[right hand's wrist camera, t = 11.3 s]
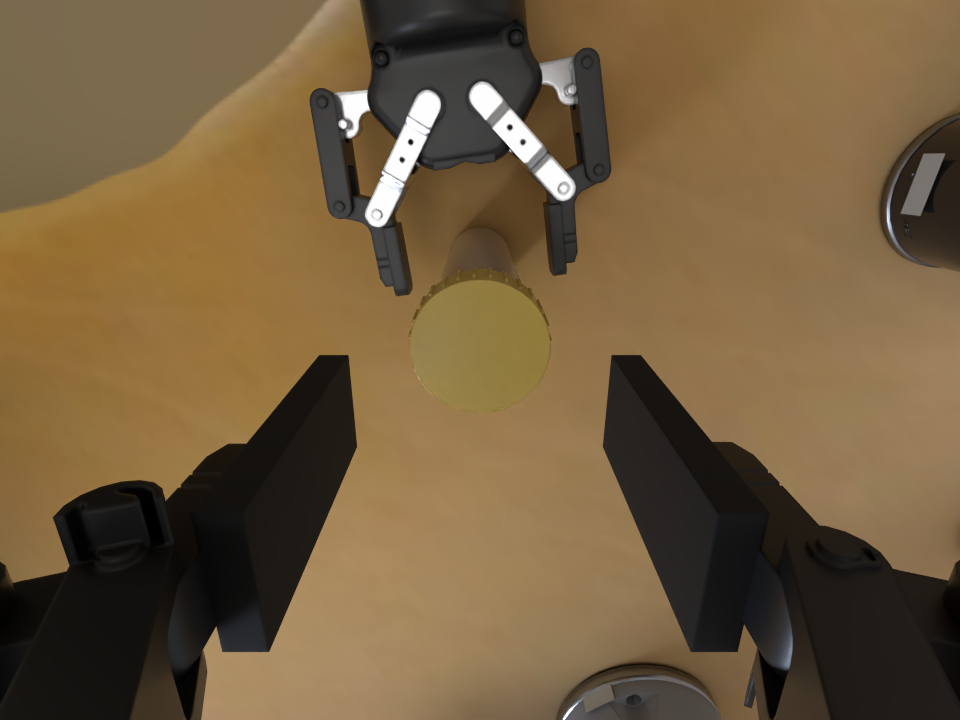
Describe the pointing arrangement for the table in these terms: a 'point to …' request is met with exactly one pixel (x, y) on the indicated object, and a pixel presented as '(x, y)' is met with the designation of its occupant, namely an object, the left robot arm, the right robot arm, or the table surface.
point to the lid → (480, 340)
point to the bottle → (479, 253)
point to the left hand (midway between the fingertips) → (481, 282)
